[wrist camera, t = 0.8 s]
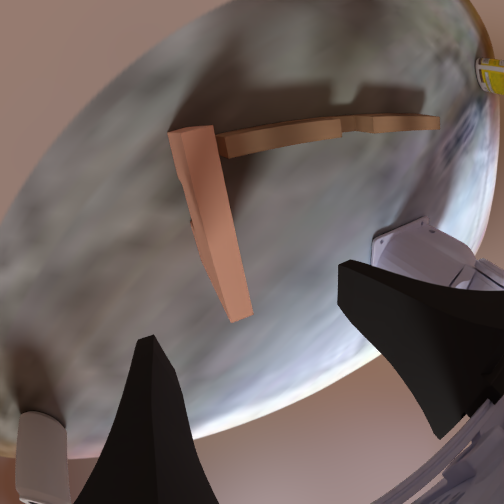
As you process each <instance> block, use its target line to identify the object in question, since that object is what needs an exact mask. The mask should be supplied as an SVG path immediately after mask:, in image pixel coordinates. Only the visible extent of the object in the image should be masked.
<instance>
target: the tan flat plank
mask: <svg viewBox="0 0 504 504" xmlns="http://www.w3.org/2000/svg"><path fill="white" fill-rule="evenodd" d="M167 133H168V138H169V142H170V146H171V151H172V155H173V159H174V163H175V167H176V171H177V175H178V178H179V180H180V182H181V183H182V185H183V189H184V192H185V196H186V200H187V204H188V208H189V211H190V215H191V219H192V221H190V223H191V227H192V230H193V234H194V237H195V241H196V244H197V248H198V251H199V254H200V258H201V261H202V263H203V265H204V267H205V269H206V272H207V274H208V276H209V278H210V280H211V282H212V284H213V287H214V289H215V291H216V293H217V295H218V297H219V299H220V301H221V303H222V305H223V307H224V309H225V311H226V314H227V316H228V318H229V320H230V322H231V323H233V322H235V321H238V320H241V319H243V318H246V317H248V316H251V315H254V314H253V310H252V305H251V301H250V296H249V292H248V288H247V283H246V279H245V274H244V270H243V265H242V260H241V256H240V251H239V247H238V242H237V238H236V233H235V228H234V224H233V219H232V214H231V210H230V205H229V200H228V196H227V191H226V186H225V181H224V177H223V172H222V167H221V162H220V157H219V152H218V148H217V143H216V138H215V133H214V128H213V125H209V126H195V127H185V128H182V129H178V130H174V131H170V132H167Z"/></svg>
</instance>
